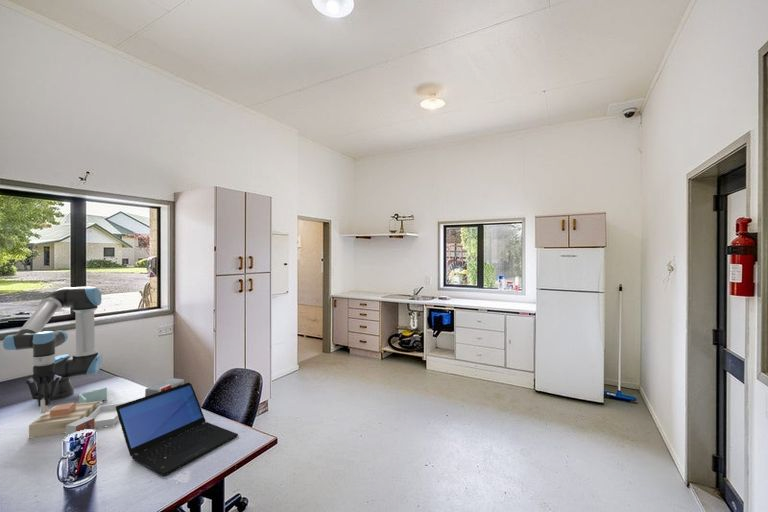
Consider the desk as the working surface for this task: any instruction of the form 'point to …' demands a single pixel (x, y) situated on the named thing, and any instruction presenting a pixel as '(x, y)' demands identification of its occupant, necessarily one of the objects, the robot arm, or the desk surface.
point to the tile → (62, 409)
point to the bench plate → (60, 420)
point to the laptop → (169, 429)
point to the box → (105, 415)
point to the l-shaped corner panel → (94, 396)
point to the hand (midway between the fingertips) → (44, 412)
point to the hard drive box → (163, 386)
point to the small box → (80, 425)
